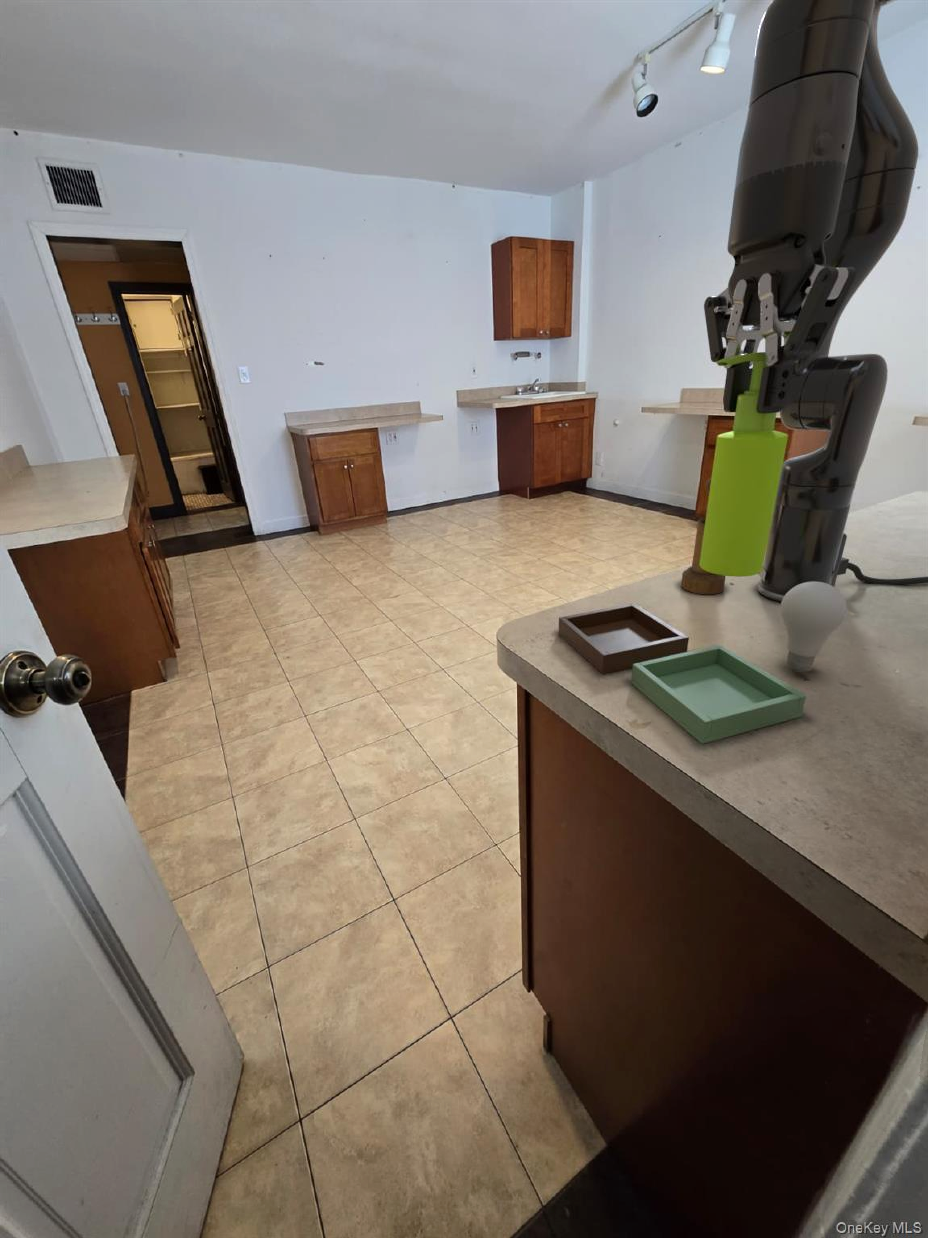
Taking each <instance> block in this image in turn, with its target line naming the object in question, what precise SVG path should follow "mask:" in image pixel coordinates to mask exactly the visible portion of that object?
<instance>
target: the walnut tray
mask: <svg viewBox="0 0 928 1238" xmlns="http://www.w3.org/2000/svg"><path fill="white" fill-rule="evenodd" d="M558 635H559V636H560V637H561V638H562V639H564V641H566V642H567V643H568V644H569V645H570V646H571V647H572V648H573V649H574V650H576V652H578V653H579V654H580V655H581V656H582V657H583V658H584V659H585V660H586V661H588V663H590V664H591V665H592V666H593V667H595V669H596V670H597V671H599V672H600V674H602V675H604V674H609V673H613V672H618V671H623V670H627V669H631V668H632V669H633V664H635V663H640V662H644V661H649V660H653V659H658V658H662V657H667V656H671V655H676V654H680V653H685V652H688V649H689V640H690V637H689V636H688V635H686V634H685V633H683V632H681V631H680V630H678V629H676V628H675V627H673V626H672V625H670V624H668V623H667V622H665V621H664V620H662V619H660V618H659V617H657V616H656V615H654V614H652V613H651V612H649V611H648V610H646V609H644V608H643V607H641V606H640V605H638V604H636V603H635V602H633V603H628V604H622V605H619V606H617V605H616V606H613V607H607V608H606V607H605V608H601V609H596V610H591V611H586V612H582V613H576V614H571V615H564V616H560V617H558Z"/></svg>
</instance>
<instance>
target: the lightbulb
mask: <svg viewBox="0 0 928 1238" xmlns="http://www.w3.org/2000/svg"><path fill="white" fill-rule="evenodd" d="M847 614H848V604H847V600H846V599H845V597H844V595H843V594H842V592H841V591H840V590H839V589H837V588H836V587H835V586H834V587H833V586H831V585H829V584H827V583H823V582H806V583H802V584H799V585H797V586H795V587H793V588H792V589H791V590H790V591H788V592H787V593H786V595H785V596H784V598H783V600H782V602H781V601H780V615H781V618H782V619H781V620H782V622H783V624H784V627H785V628H786V632H787V650H788V653H787V660H786V665H787V666H788V667H789V668H790V669H792V670H793V671H794V672H796V673H802V672H808V671H811V670H812V669H813V666H814V663H815V660H816V656H818V655H819V654H820V651H821V649H822V646H823V645H824V643H825V641H827V639H828V638H829V636H831V635H832V634H833V633H834V632H835V631H836V630H838V629H839V628H840V627H841V625H842V624H843V623H844V621H845V619H846V618H847Z"/></svg>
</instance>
